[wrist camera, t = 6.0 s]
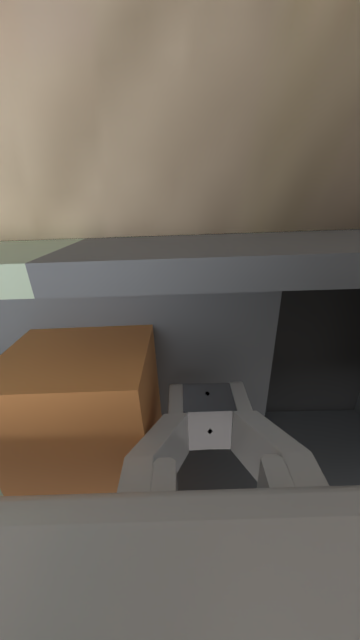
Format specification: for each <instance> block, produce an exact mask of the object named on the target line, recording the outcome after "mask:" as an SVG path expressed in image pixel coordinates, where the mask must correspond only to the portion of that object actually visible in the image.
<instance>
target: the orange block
mask: <svg viewBox="0 0 360 640" xmlns="http://www.w3.org/2000/svg"><path fill="white" fill-rule="evenodd" d="M161 417H162V415H161V404H160V394H159V384H158V374H157V364H156V354H155V344H154V333H153V325H128V326H103V327H78V328H54V329H30V330H29V331H28V332H27V333H25V334H24V335H23V336H22V337H21V338H20V339H18V340H17V341H16V342H15V343H14V344H13V345H11V346H10V347H9V348H8V349H7V350H6V351H4V352H3V353H2V354H1V355H0V490H1V492H2V494H3V495H4V496H24V495H56V494H89V493H117V489H118V484H119V480H120V475H121V471H122V466H123V462H124V457H125V456H126V455H127V454H128V453H129V452H130V451H131V450H132V449H133V447H134V446H135V445H136V444H137V443H138V442H139V441H140V440H141V439H142V438H143V437H144V436H145V434H146V433H147V432H148V431H149V430H150V429H151V428H152V427H153V425H154V424H155V423H156V422H157V421H158V420H159V419H160V418H161Z"/></svg>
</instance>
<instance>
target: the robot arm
mask: <svg viewBox="0 0 360 640" xmlns="http://www.w3.org/2000/svg"><path fill="white" fill-rule="evenodd" d="M207 449H231V451H232V452H233V453H234V454H235V456H236V457H237V458H238V459H239V460H240V462H241V463H242V464H243V465H244V466H245V468H246V469H247V470H248V471H249V473H250V474H251V475H252V476H253V477H254V479H255V480H256V481H257V482H258V483H257V488H251V489H219V490H186V491H178V487H177V472H178V471H179V469H180V467H181V465H182V464H183V462H184V460H185V458H186V457H187V455H188V453H189V451H191V450H207ZM0 640H360V485H350V486H329V484H328V482H327V480H326V478H325V476H324V475H323V473H322V471H321V469H320V467H319V465H318V463H317V461H316V459H315V458H314V456H313V454H312V452H311V451H310V450H308V449H307V448H306V447H304V446H303V445H302V444H300V443H299V442H298V441H296V440H295V439H294V438H292V437H291V436H290V435H288V434H287V433H286V432H284V431H283V430H282V429H281V428H279V427H278V426H277V425H275V424H274V423H273V422H271V421H270V420H269V419H267V418H266V417H265V416H263V415H262V414H261V413H259V412H258V411H253V410H252V407H251V404H250V401H249V399H248V396H247V393H246V390H245V388H244V385H243V383H242V382H241V381H239V382H229V383H191V384H183V385H182V384H170V386H169V402H168V414H163V416H162V417H161V418H160V419H159V420H158V421H157V422H156V423H155V424H154V425H153V427H152V428H151V429H150V430H149V431H148V432H147V433H146V434H145V436H144V437H143V438H142V439H141V440H140V441H139V442H138V443H137V444H136V445H135V446H134V447H133V449H132V450H131V451H130V452H129V453H128V454H127V455H126V456H125V457H124V462H123V466H122V471H121V475H120V480H119V484H118V489H117V493H89V494H56V495H24V496H0Z"/></svg>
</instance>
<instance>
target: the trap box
mask: <svg viewBox="0 0 360 640" xmlns="http://www.w3.org/2000/svg"><path fill="white" fill-rule="evenodd" d="M128 325H153V333H154V344H155V354H156V364H157V374H158V384H159V394H160V404H161V415H162V416H163V414H168V402H169V386H170V384H182V385H183V384H191V383H229V382H239V381H241V382H242V383H243V385H244V388H245V390H246V393H247V396H248V399H249V401H250V404H251V407H252V410H253V411H258V412H259V413H261V414H262V415H263V416H265V417H266V418H267V419H269V420H270V421H271V422H273V423H274V424H275V425H277V426H278V427H279V428H281V429H282V430H283V431H284V432H286V433H287V434H288V435H290V436H291V437H292V438H294V439H295V440H296V441H298V442H299V443H300V444H302V445H303V446H304V447H306V448H307V449H308V450H310V451H311V452H312V454H313V456H314V458H315V459H316V461H317V463H318V465H319V467H320V469H321V471H322V473H323V475H324V476H325V478H326V480H327V482H328V484H329V486H350V485H360V229H355V230H325V231H295V232H265V233H235V234H205V235H175V236H145V237H115V238H85V239H55V240H25V241H0V355H1V354H2V353H3V352H4V351H6V350H7V349H8V348H9V347H10V346H11V345H13V344H14V343H15V342H16V341H17V340H18V339H20V338H21V337H22V336H23V335H24V334H25V333H27V332H28V331H29V330H30V329H54V328H78V327H103V326H128ZM257 483H258V482H257V481H256V480H255V479H254V477H253V476H252V475H251V474H250V473H249V471H248V470H247V469H246V468H245V466H244V465H243V464H242V463H241V462H240V460H239V459H238V458H237V457H236V456H235V454H234V453H233V452H232V451H231V449H207V450H191V451H189V453H188V455H187V457H186V458H185V460H184V462H183V464H182V465H181V467H180V469H179V471H178V472H177V487H178V491H186V490H219V489H251V488H257ZM0 496H4V495H3V494H2V492H1V490H0Z"/></svg>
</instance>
